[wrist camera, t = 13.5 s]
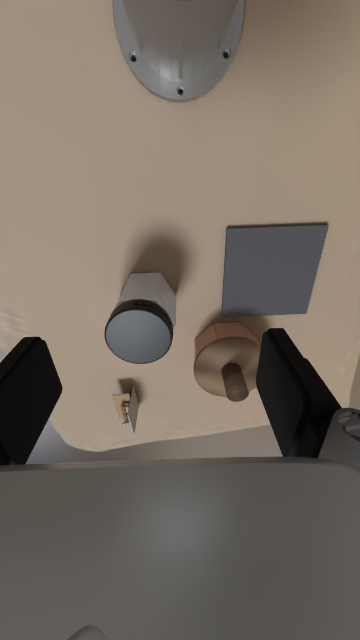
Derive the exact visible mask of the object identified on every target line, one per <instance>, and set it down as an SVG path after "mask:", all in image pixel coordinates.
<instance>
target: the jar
mask: <svg viewBox="0 0 360 640" xmlns="http://www.w3.org/2000/svg"><path fill="white" fill-rule="evenodd" d="M175 326H176V295H175V293H174V292H173V291H172V289H171V288H170V286H169V285H168V283H167V282H166V280H165V279H164V277H163V276H162V274H161V273H131V274H130V276H129V278H128V280H127V282H126V284H125V286H124V288H123V291H122V293H121V295H120V297H119V299H118V302H117V304H116V306H115V308H114V310H113V312H112V314H111V316H110V318H109V320H108V322H107V325H106V327H105V340H106V343H107V345H108V347H109V349H110V350H111V351H112V352H113V353H114V354H115V355H116V356H117V357H119V358H121V359H122V360H125V361H127V362H130V363H136V364H146V363H151V362H154V361H156V360H158V359H160V358H161V357H163V356H164V355H165V354H166V353H167V352H168V350H169V349H170V346H171V343H172V339H173V330H174V328H175Z"/></svg>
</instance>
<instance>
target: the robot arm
mask: <svg viewBox="0 0 360 640" xmlns="http://www.w3.org/2000/svg"><path fill="white" fill-rule="evenodd" d="M244 6H245V1H244V0H113V16H114V23H115V28H116V34H117V38H118V41H119V44H120V47H121V50H122V53H123V55H124V58H125V60H126V62H127V64H128V65H129V67H130V69H131V71H132V72H133V74H134V76H135V77H136V78H137V79H138V80H139V82H140V83H141V84H142V85H143V86H144V87H145V88H146V89H148V90H149V91H150V92H151V93H152V94H154V95H156V96H158V97H160V98H162V99H165V100H168V101H172V102H185V101H190V100H194V99H196V98H198V97H200V96H202V95H204V94H206V93H207V92H208V91H209V90H211V89H212V88H213V87H214V86H215V85H216V84H217V83H218V82H219V80H220V79H221V78H222V77H223V75H224V74H225V72H226V71H227V69H228V67H229V66H230V64H231V62H232V60H233V58H234V55H235V53H236V50H237V47H238V44H239V41H240V37H241V32H242V27H243V21H244ZM224 53H227V55H228V58H226V59H225V58H224V57H223V54H224ZM132 57H136V61H135V62H133V61H132ZM179 90H182V91H183V94H182V95H179V94H178V91H179ZM256 386H257V389H258V392H259V394H260V397H261V400H262V402H263V405H264V408H265V410H266V413H267V416H268V418H269V421H270V424H271V426H272V429H273V431H274V434H275V437H276V439H277V442H278V445H279V447H280V450H281V453H282V455H283V457H228V458H192V459H160V460H131V461H103V462H75V463H51V464H26V462H27V460H28V458H29V455H30V454H31V452H32V450H33V448H34V446H35V444H36V442H37V440H38V438H39V436H40V434H41V432H42V430H43V428H44V426H45V424H46V423H47V421H48V419H49V417H50V415H51V413H52V411H53V409H54V407H55V405H56V403H57V401H58V399H59V397H60V395H61V393H62V385H61V382H60V379H59V376H58V374H57V371H56V368H55V366H54V363H53V360H52V358H51V355H50V352H49V349H48V347H47V344H46V342H45V341H44V340H42V339H41V338H40V337H24V338H23V339H22V340H21V341H20V342H19V343H18V344H17V345H16V346H15V347H14V348H13V349H12V351H11V352H10V353H9V354H8V355H7V356H6V357H5V358H4V359H3V360H2V362H1V363H0V640H360V410H358V409H353V408H342V407H341V406H340V405H339V403H338V402H337V400H336V399H335V397H334V396H333V395H332V393H331V392H330V390H329V389H328V387H327V386H326V385H325V383H324V382H323V380H322V379H321V378H320V376H319V375H318V373H317V372H316V370H315V369H314V368H313V366H312V365H311V363H310V362H309V361H308V360H307V359H306V358H303V356H302V355H301V353H300V352H299V350H298V349H297V347H296V346H295V344H294V343H293V342H292V340H291V339H290V337H289V336H288V334H287V333H286V331H285V330H284V329H283V328H269V329H268V331H267V332H264V333H263V337H262V343H261V350H260V356H259V362H258V368H257V374H256ZM25 464H26V465H25Z"/></svg>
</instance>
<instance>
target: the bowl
mask: <svg viewBox="0 0 360 640" xmlns="http://www.w3.org/2000/svg"><path fill="white" fill-rule="evenodd" d="M230 336H239V337H245V338H248V339H251V340H253V341H255V342H256V343H257V344H259V345H260V343H259V341H258V339H257V337H256V336H255V335H254V334H253V333H252V332H251V331H250V330H249V329H247V328H246V327H245V326H244V325H243V324H242V323H241V322H224V323H213V324H212V325H210V326H209V327H208V328H207V329H206V330H205V331H203V332H202V333H201V334H200V335H199V336H198V337H197V338H195V359H196V356H197V355H198V353H199V352H200V351H201V350H202V349H203V348H204V347H205V346H206V345H207V344H209V343H211V342H212V341H215V340H217V339H220V338H224V337H230ZM260 346H261V345H260Z"/></svg>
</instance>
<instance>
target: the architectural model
mask: <svg viewBox="0 0 360 640" xmlns="http://www.w3.org/2000/svg"><path fill="white" fill-rule="evenodd" d="M113 399H114V402H115V406H116V409H117V412H118V415H119V418H120V419H124V420H125V419H126V420H127V421H126V420H125V422H123V423H121V425H123V424H126V425H127V424H130V426H131V430H132V433H133V435H134V433H135V427H136V420H137V414H138V407H139V404H138V400H137V396H136V392H135V388H134V387H133V390H132V395H131V398H130V395H129V393H125V394H113ZM124 402H125V403H126V402H130V405H129V403H128V404H127V403H126V404H127V406H126V405H125V404H124ZM125 407H129V410H128V413H126V409H125ZM127 414H128V415H127Z"/></svg>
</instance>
